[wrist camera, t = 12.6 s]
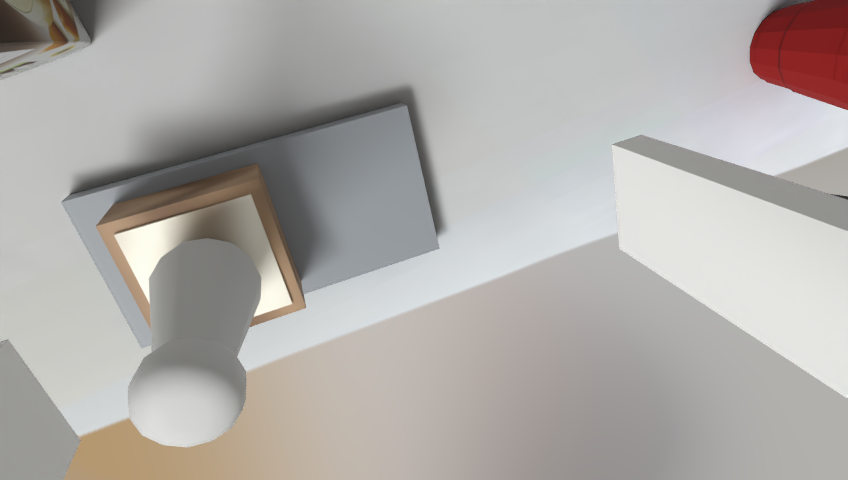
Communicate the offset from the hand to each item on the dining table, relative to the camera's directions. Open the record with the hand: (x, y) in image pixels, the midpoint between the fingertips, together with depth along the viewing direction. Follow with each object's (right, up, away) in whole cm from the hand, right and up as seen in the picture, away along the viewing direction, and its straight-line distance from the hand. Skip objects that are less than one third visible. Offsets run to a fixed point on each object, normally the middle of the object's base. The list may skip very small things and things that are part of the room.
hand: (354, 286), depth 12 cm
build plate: (-9, +2, +26) cm, 27 cm away
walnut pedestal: (-12, +1, +24) cm, 27 cm away
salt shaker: (-11, -1, +20) cm, 23 cm away
